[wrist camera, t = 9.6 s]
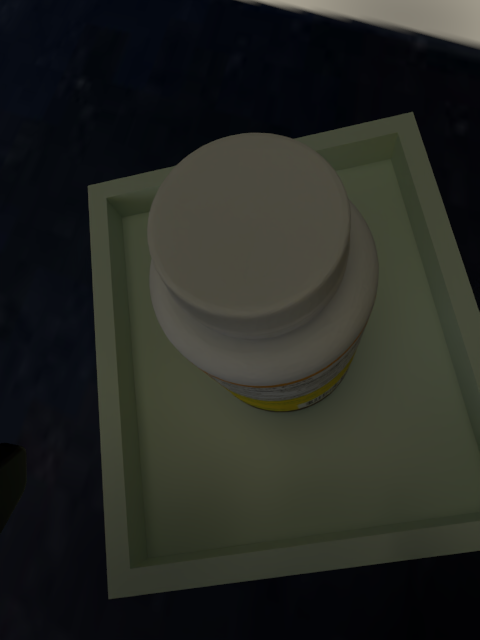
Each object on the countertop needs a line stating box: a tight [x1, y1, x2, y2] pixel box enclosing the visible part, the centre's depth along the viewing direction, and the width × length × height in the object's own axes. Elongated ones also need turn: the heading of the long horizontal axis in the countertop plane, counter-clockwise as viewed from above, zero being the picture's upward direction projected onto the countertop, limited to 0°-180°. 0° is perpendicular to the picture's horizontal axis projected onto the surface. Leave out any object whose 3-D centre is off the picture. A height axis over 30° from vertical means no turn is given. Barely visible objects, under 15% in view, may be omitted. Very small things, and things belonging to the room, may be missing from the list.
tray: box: [88, 112, 480, 599], centre depth 18 cm, size 16×14×2 cm
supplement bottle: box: [147, 133, 379, 412], centre depth 13 cm, size 6×6×10 cm
